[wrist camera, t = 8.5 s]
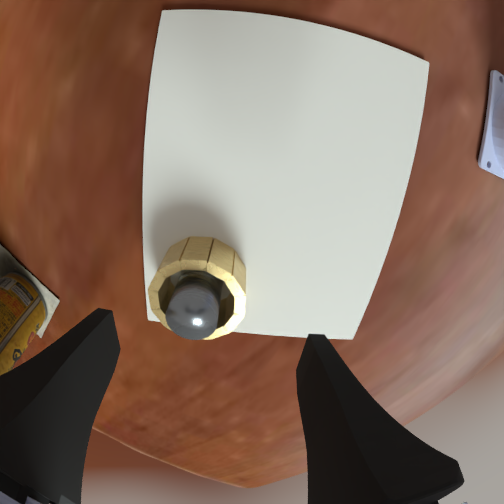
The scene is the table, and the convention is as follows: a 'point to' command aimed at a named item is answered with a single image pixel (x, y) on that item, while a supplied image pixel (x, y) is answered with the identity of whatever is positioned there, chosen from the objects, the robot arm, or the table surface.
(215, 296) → the piston
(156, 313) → the ring
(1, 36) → the table surface
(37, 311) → the condiment
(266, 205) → the mat
